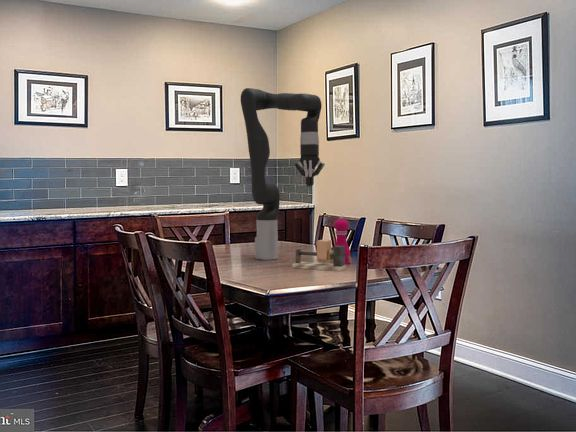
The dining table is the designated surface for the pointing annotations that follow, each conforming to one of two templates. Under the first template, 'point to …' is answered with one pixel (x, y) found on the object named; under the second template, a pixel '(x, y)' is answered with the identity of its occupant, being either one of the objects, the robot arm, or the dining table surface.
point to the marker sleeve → (323, 250)
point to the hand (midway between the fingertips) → (309, 186)
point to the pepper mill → (342, 235)
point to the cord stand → (337, 265)
